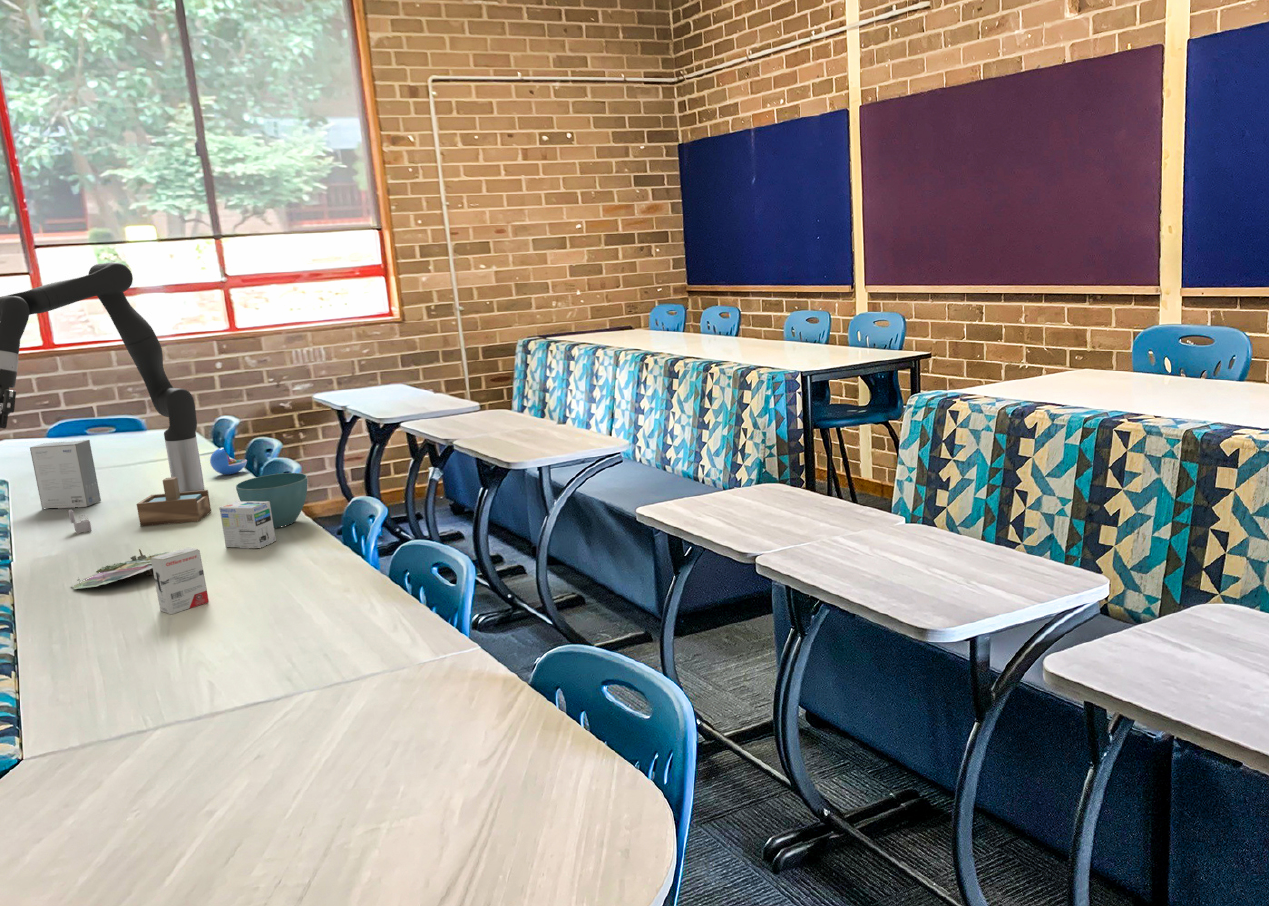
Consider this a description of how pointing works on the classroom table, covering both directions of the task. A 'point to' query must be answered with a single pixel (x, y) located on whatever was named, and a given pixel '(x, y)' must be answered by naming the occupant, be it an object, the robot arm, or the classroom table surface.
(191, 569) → the ink box
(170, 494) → the lid
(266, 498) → the plant pot
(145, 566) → the city model
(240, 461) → the cell model
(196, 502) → the brown wooden shelf box
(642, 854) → the classroom table surface
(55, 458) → the hard drive box
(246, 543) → the light bulb box
